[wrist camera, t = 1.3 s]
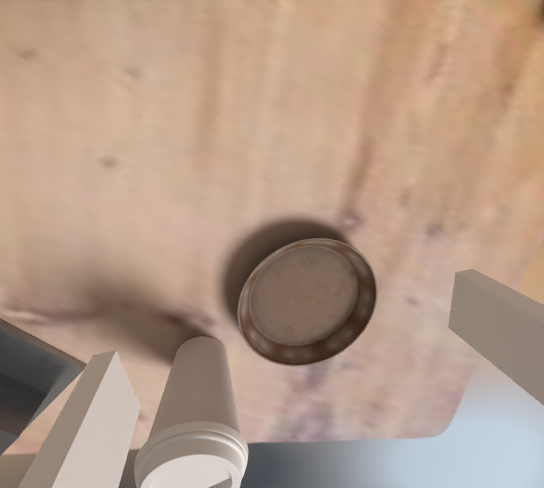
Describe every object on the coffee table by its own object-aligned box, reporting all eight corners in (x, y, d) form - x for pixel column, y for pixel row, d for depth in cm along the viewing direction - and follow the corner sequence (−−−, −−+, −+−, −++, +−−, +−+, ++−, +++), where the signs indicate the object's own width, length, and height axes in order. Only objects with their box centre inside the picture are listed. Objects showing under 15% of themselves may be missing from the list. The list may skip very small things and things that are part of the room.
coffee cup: (165, 388, 37) (133, 536, 23) (160, 328, 34) (120, 456, 20) (237, 381, 39) (248, 514, 25) (239, 323, 36) (253, 438, 22)
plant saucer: (380, 234, 35) (394, 242, 32) (352, 348, 41) (362, 363, 38) (240, 227, 32) (242, 235, 29) (231, 354, 37) (232, 371, 34)
